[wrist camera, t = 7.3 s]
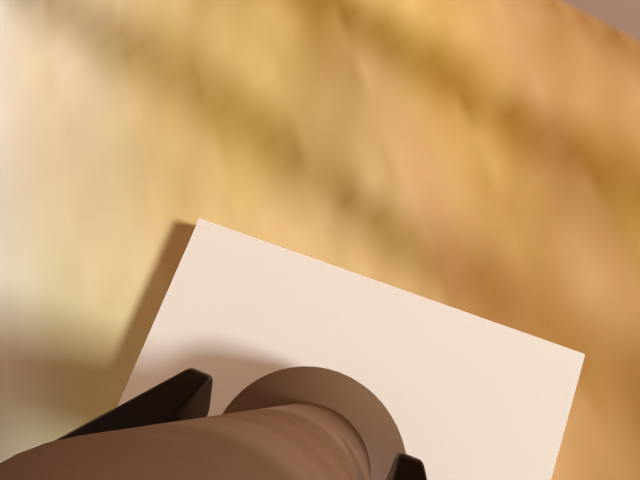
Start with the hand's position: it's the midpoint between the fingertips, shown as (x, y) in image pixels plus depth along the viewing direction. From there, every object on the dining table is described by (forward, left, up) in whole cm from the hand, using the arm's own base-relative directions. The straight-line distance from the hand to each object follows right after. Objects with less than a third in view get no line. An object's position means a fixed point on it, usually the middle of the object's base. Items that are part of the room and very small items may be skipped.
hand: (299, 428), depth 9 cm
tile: (-1, -1, -10) cm, 10 cm away
